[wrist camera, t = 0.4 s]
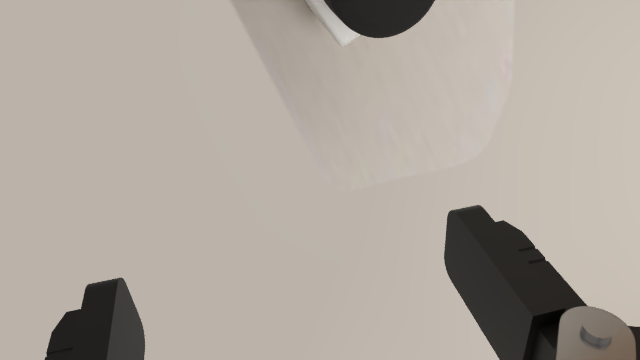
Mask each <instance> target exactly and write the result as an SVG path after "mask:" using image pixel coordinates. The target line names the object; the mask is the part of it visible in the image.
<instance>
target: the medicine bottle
mask: <svg viewBox="0 0 640 360" xmlns="http://www.w3.org/2000/svg"><path fill="white" fill-rule="evenodd" d="M305 1H306V2H307V4H308V5H309V7H310V8H311V10H312V11H313V13H314V14H315V16H316V17H317V18H318V20H319V21H320V22H321V23H322V24H323V26H324V27H325V28H326V29H327V31H328V32H329V33H330V34H331V35H332V37H333V38H334V39H335V40H336V41H337V43H338V44H339V45H340V46H346V45H348V44H349V43H350V42H352V41H353V40H354V39H356V38H357V37H359V36H360V35H364V36H367V37H373V38H384V37H391V36H394V35H397V34H400V33H402V32H404V31H406V30H408V29H409V28H411V27H412V26H414V25H415V24H416V23H418V22H419V21H420V20H421V19H422V18H423V17H424V15H425V14H426V13H427V12H428V10H429V9H430V7H431V6H432V4H433V3H434V1H435V0H305Z"/></svg>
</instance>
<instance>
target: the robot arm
mask: <svg viewBox="0 0 640 360" xmlns="http://www.w3.org/2000/svg"><path fill="white" fill-rule="evenodd" d="M446 229H447V230H446V241H445V253H444V260H445V266H446V270H447V273H448V275H449V277H450V279H451V281H452V283H453V284H454V286H455V288H456V289H457V291H458V293H459V294H460V296H461V297H462V299H463V300H464V302H465V304H466V306H467V307H468V309H469V310H470V312H471V313H472V315H473V317H474V319H475V320H476V322H477V323H478V325H479V327H480V328H481V330H482V332H483V333H484V335H485V336H486V338H487V340H488V341H489V343H490V345H491V346H492V348H493V349H494V351H495V352H496V354H497V356H498V358H499V359H500V360H640V327H633V326H627V325H626V323H624V322H623V321H622V320H621V319H620V318H618V317H617V316H615V315H614V314H612V313H610V312H608V311H605V310H602V309H599V308H595V307H589V306H587V305H586V304H585V303H584V302H583V301H582V299H581V298H580V297H579V296H578V295H577V294H576V293H575V291H574V290H573V289H572V288H571V287H570V286H569V284H568V283H567V282H566V281H565V280H564V279H563V278H562V276H561V275H560V274H559V273H558V272H557V271H556V270H555V269H554V267H553V266H552V265H551V264H550V263H549V262H548V261H546V260H545V257H544V256H543V255H542V254H541V253H540V252H539V250H538V249H535V246H534V245H533V243H532V242H531V241H530V240H529V239H528V238H527V236H526V235H525V234H524V233H523V232H522V231H520V230H519V229H517V228H515V227H513V226H512V225H510V224H509V223H507V222H505V221H499V222H495V221H494V220H493V219H492V218H491V217H490V215H489V214H488V213H487V212H486V211H485V210H484V208H483V207H481V206H480V205H476V206H471V207H466V208H462V209H456V210H451V211H450V212H449V213H448V217H447V228H446ZM144 352H145V338H144V330H143V326H142V322H141V319H140V317H139V314H138V312H137V309H136V307H135V305H134V302H133V300H132V297H131V295H130V292H129V290H128V287H127V285H126V283H125V281H124V279H123V278H117V279H112V280H107V281H102V282H97V283H92V284H88V285H87V287H86V289H85V293H84V298H83V302H82V307H81V309H79V310H74V311H69V312H66V313H65V315H64V316H63V318H62V319H61V320H60V322H59V323H58V325H57V326H56V327H55V329H54V330H53V332H52V334H51V338H50V342H49V345H48V349H47V357H45V360H144Z"/></svg>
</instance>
